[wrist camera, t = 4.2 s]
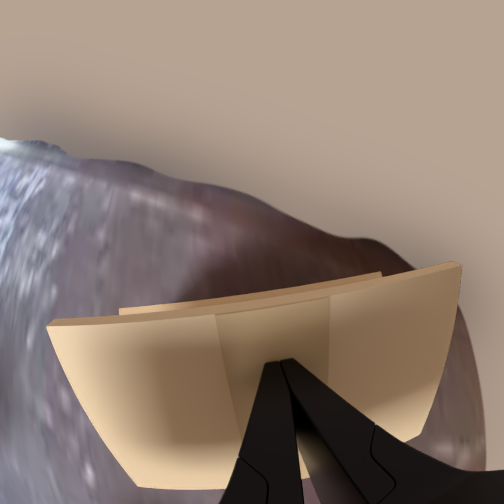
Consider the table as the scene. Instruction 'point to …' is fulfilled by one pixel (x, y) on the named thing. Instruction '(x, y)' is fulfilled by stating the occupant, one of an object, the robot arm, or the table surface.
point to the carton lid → (255, 368)
